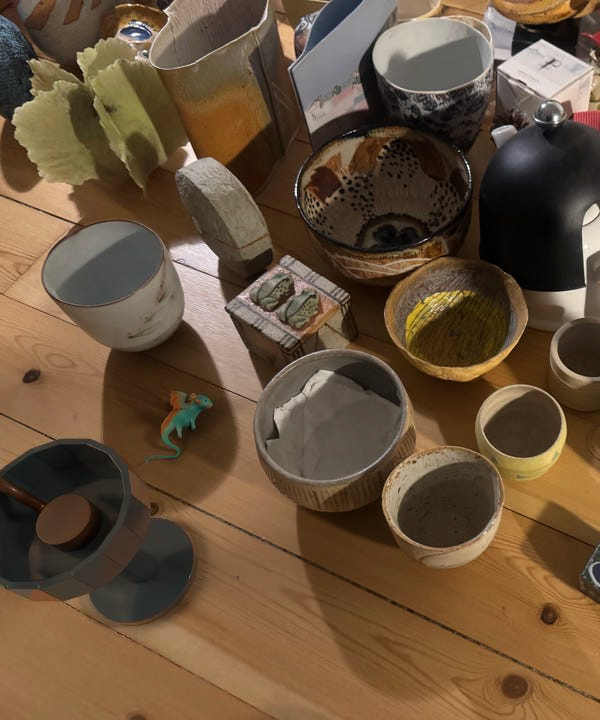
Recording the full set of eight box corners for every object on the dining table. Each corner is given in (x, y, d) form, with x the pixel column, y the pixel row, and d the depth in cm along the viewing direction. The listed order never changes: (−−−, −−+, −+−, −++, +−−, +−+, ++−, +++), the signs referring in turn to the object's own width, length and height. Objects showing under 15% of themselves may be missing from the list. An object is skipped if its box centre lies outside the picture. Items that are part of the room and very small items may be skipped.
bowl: (59, 571, 76) (-59, 509, 60) (167, 488, 80) (84, 410, 65) (120, 666, 70) (9, 625, 55) (232, 571, 75) (159, 509, 59)
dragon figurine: (215, 458, 81) (214, 388, 82) (144, 462, 78) (143, 390, 79) (212, 461, 87) (210, 396, 88) (145, 465, 84) (145, 398, 85)
